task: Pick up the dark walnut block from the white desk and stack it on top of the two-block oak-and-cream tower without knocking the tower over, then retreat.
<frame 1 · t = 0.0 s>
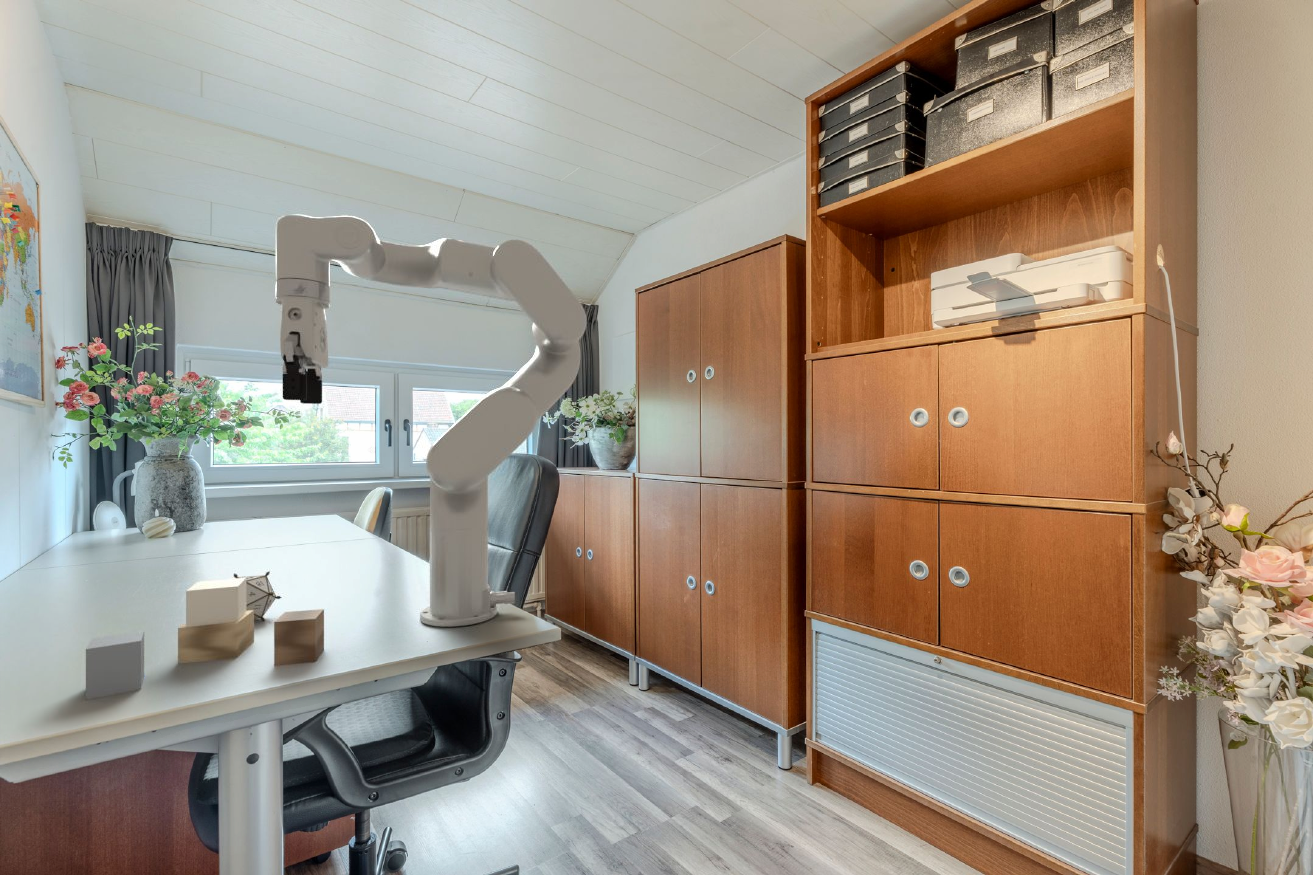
hand: (303, 401, 98), 37 cm above the table, tool pointing down, fingers open, 9 cm apart
tower top: (217, 618, 88), point 5 cm above the table, touching tower base
tower base: (217, 653, 88), on the table, touching tower top
game die: (249, 622, 103), on the table
walnut block: (300, 657, 86), on the table
slate block: (116, 687, 75), on the table
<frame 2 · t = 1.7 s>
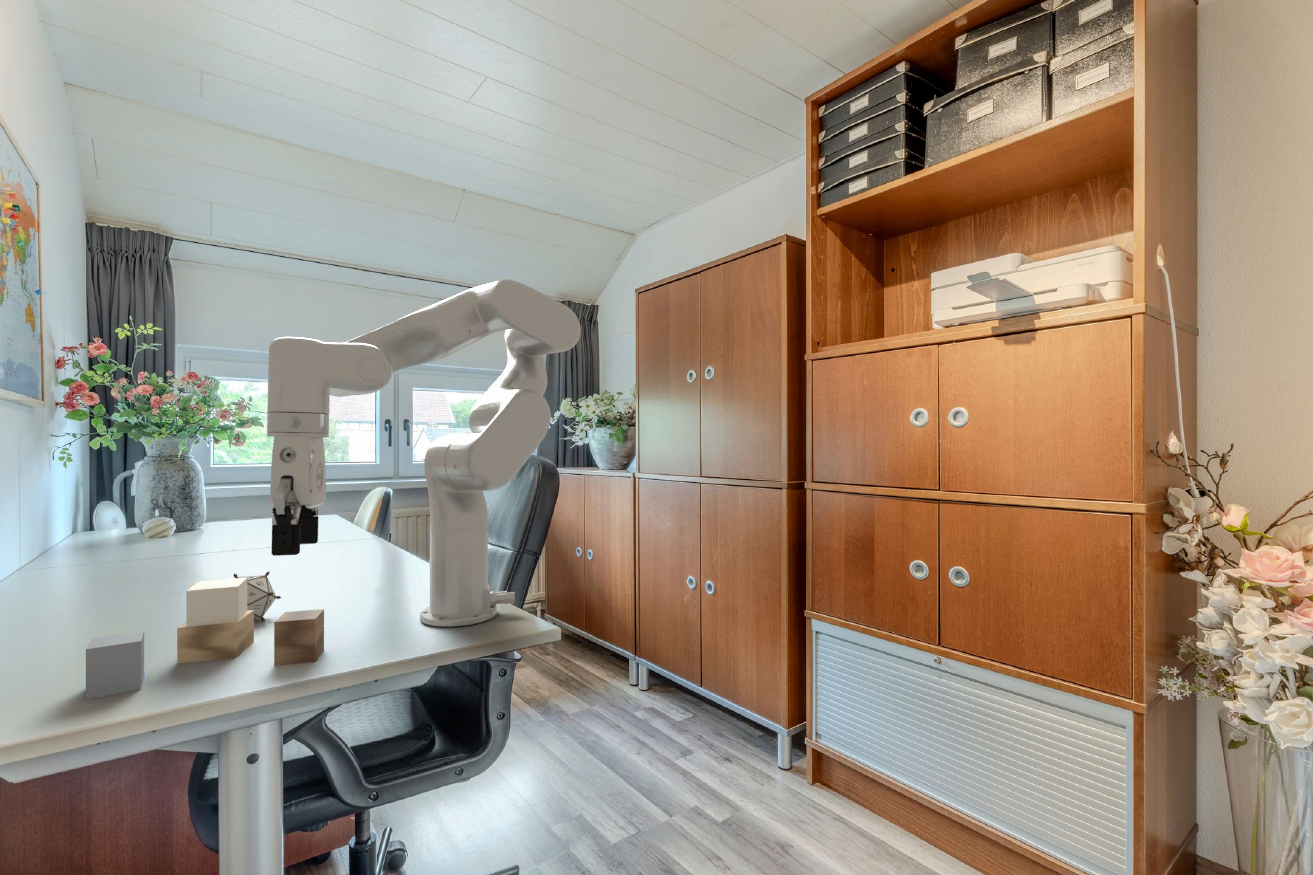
hand: (296, 548, 85), 15 cm above the table, tool pointing down, fingers open, 9 cm apart
nothing on the table moved.
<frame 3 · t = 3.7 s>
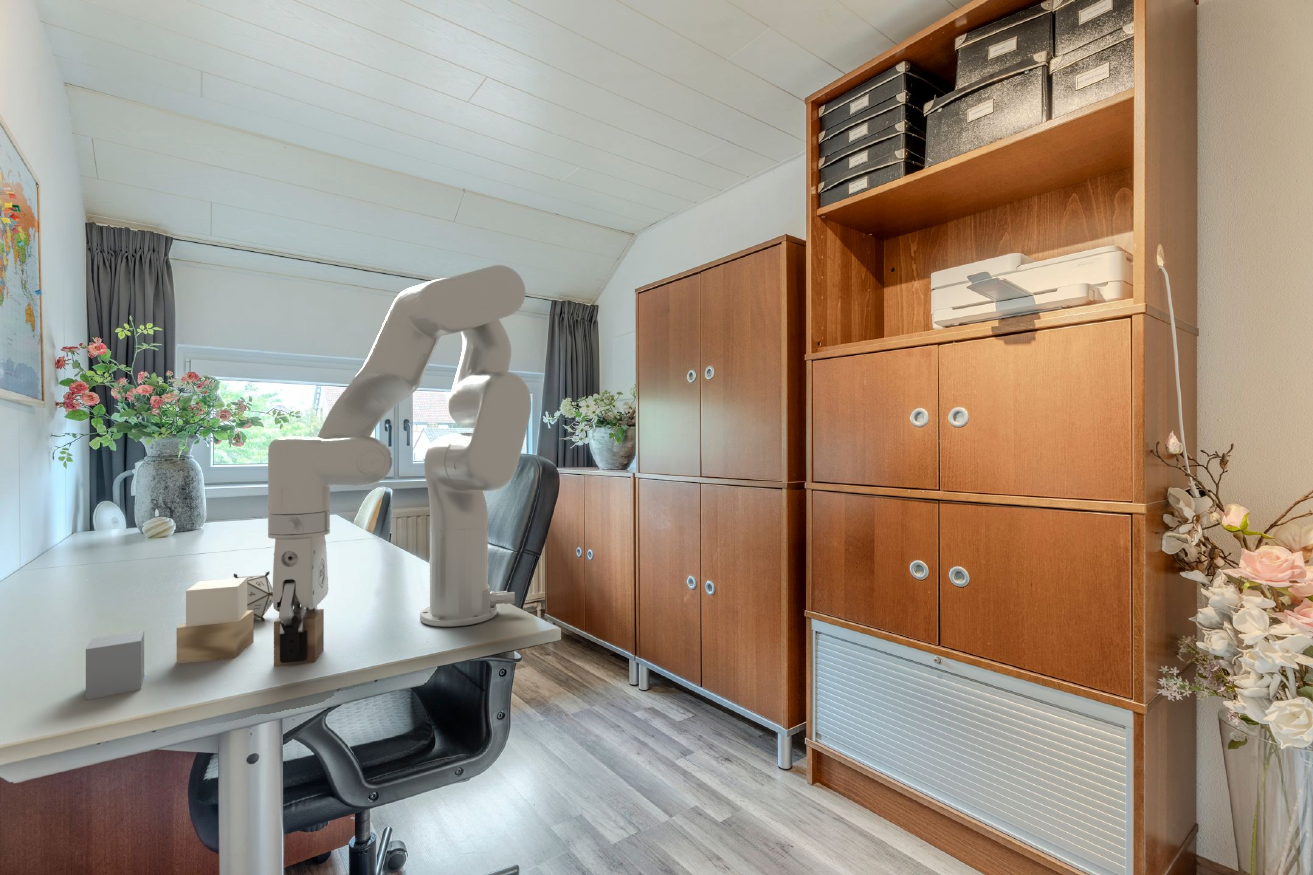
hand: (299, 652, 86), 1 cm above the table, tool pointing down, fingers closed on walnut block, 5 cm apart
walnut block: (299, 657, 86), on the table, touching gripper
everything else where it was.
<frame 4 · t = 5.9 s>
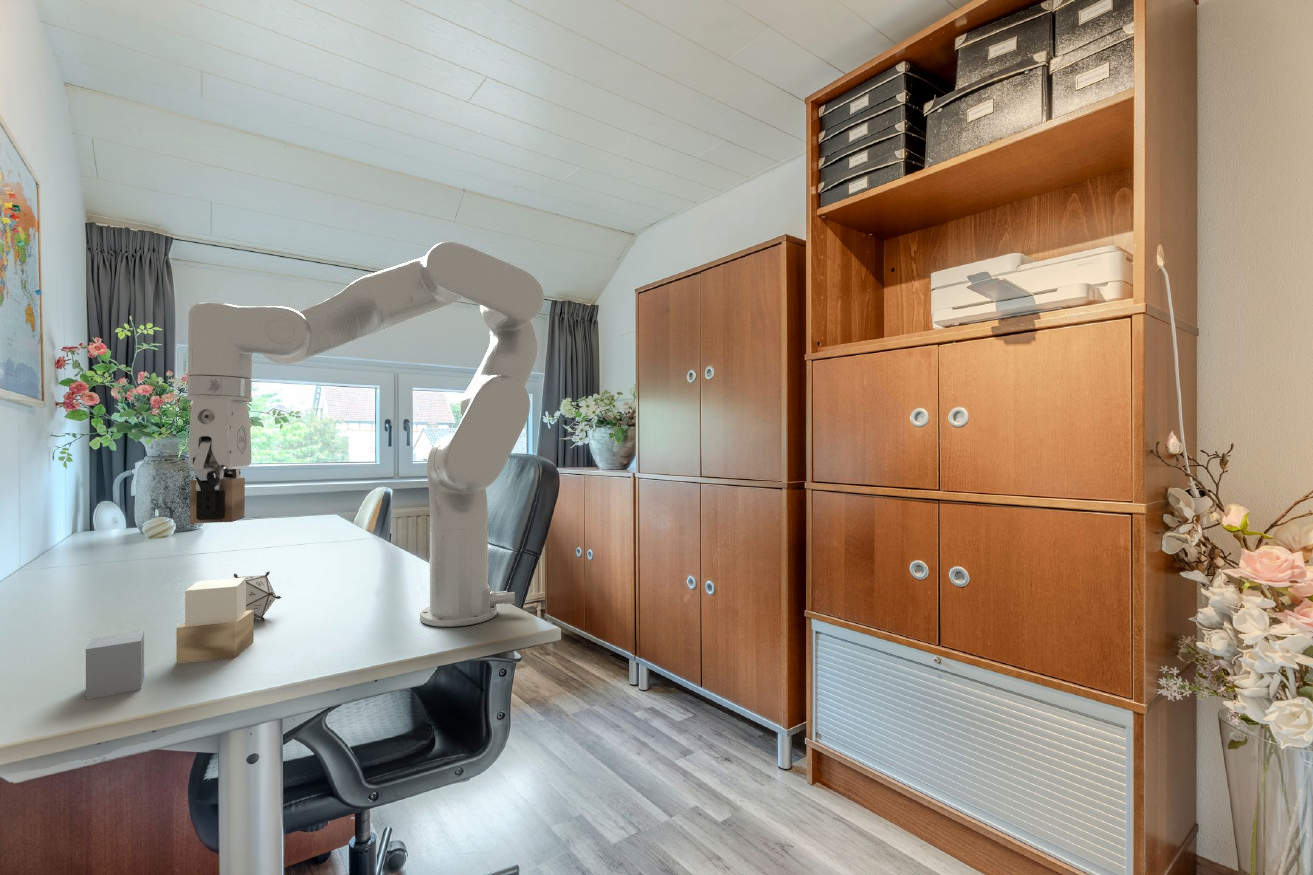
hand: (218, 515, 88), 20 cm above the table, tool pointing down, fingers closed on walnut block, 5 cm apart
walnut block: (218, 520, 88), point 19 cm above the table, touching gripper
everything else where it was.
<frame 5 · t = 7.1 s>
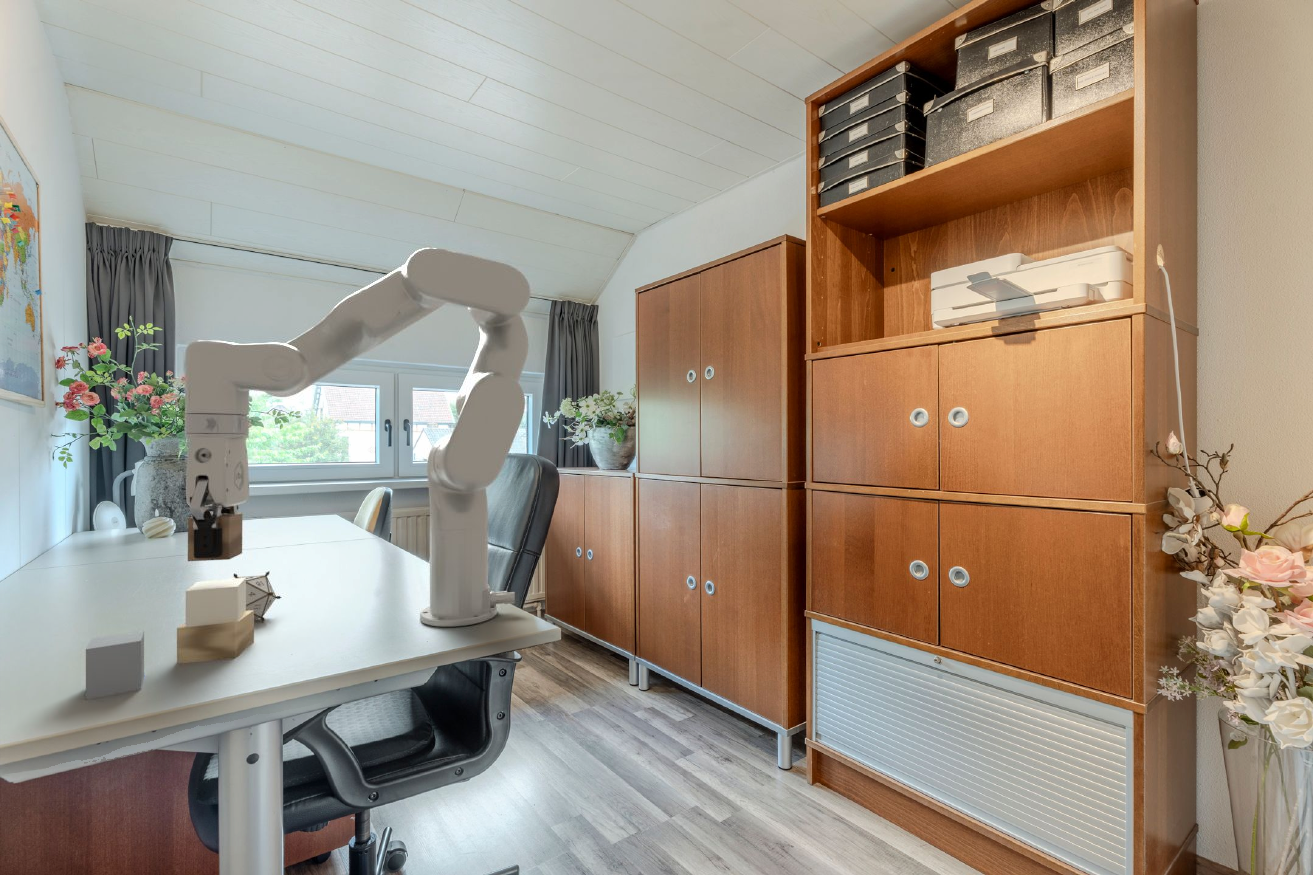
hand: (216, 552, 88), 14 cm above the table, tool pointing down, fingers closed on walnut block, 5 cm apart
walnut block: (215, 557, 88), point 14 cm above the table, touching gripper
everything else where it was.
when the fingers open (12 cm above the table, at t = 8.1 s): walnut block drops 1 cm, resting on tower top.
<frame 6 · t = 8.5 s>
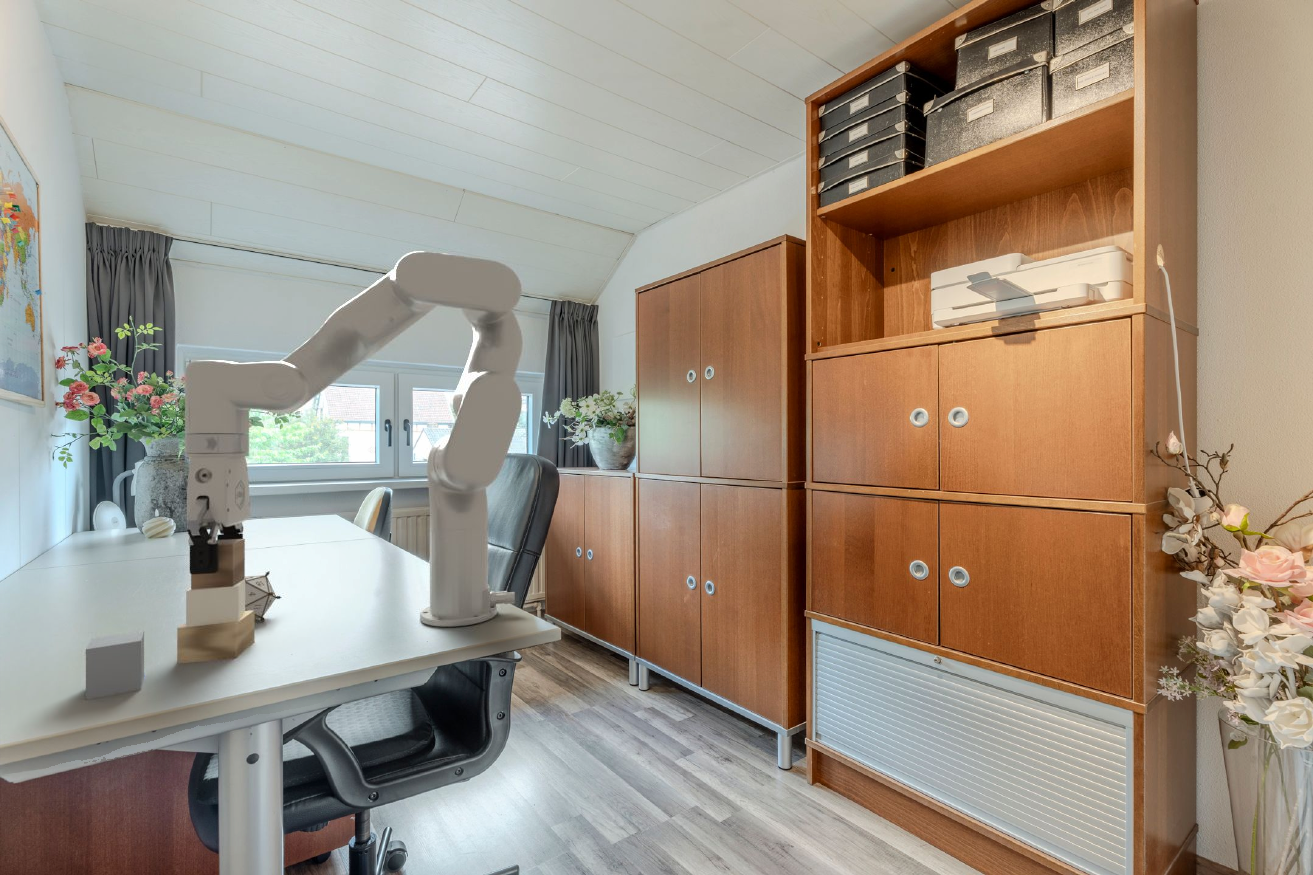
hand: (217, 566, 88), 12 cm above the table, tool pointing down, fingers open, 8 cm apart
tower top: (217, 618, 88), point 5 cm above the table, touching tower base, walnut block
walnut block: (218, 583, 88), point 10 cm above the table, touching tower top
everything else where it was.
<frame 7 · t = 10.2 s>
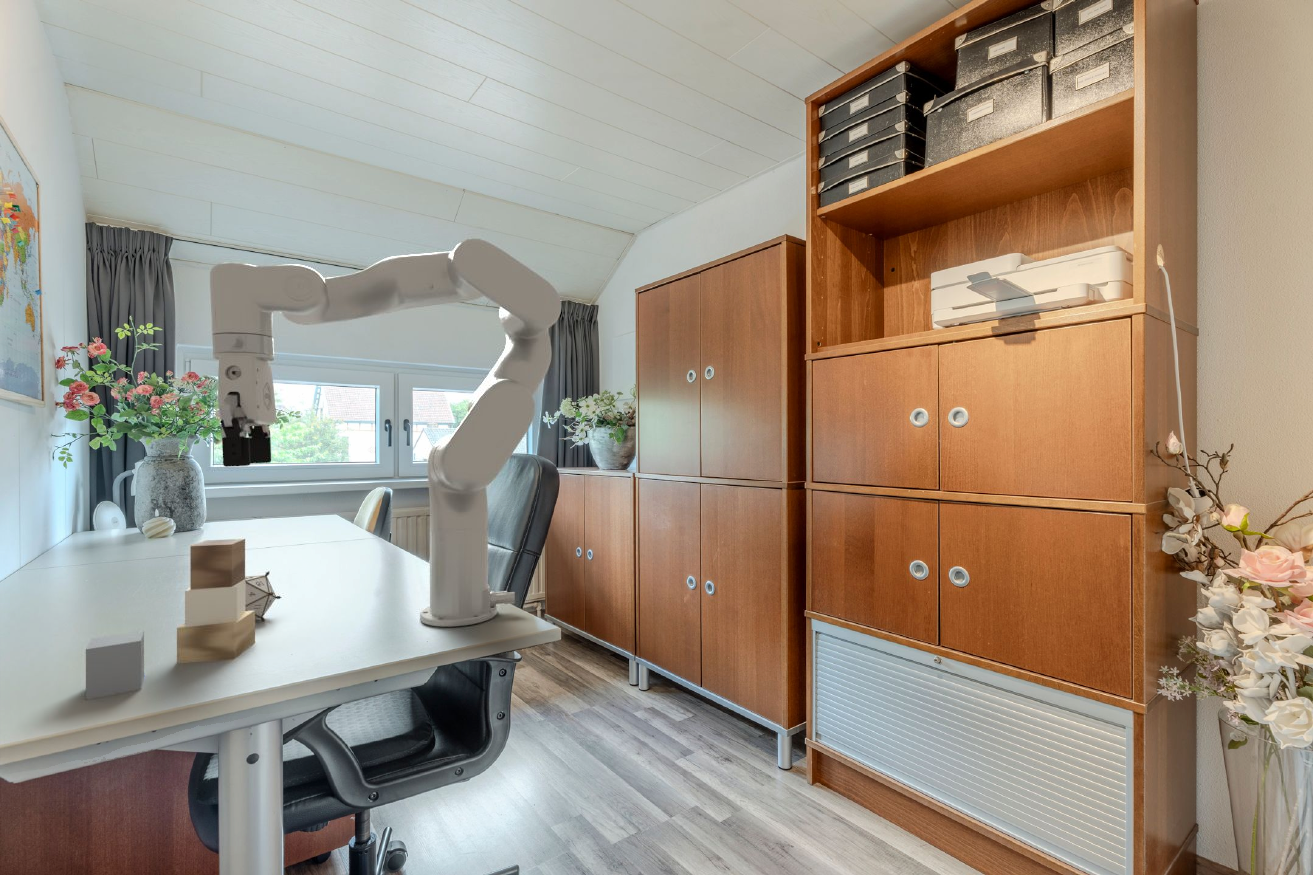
hand: (248, 464, 91), 27 cm above the table, tool pointing down, fingers open, 9 cm apart
nothing on the table moved.
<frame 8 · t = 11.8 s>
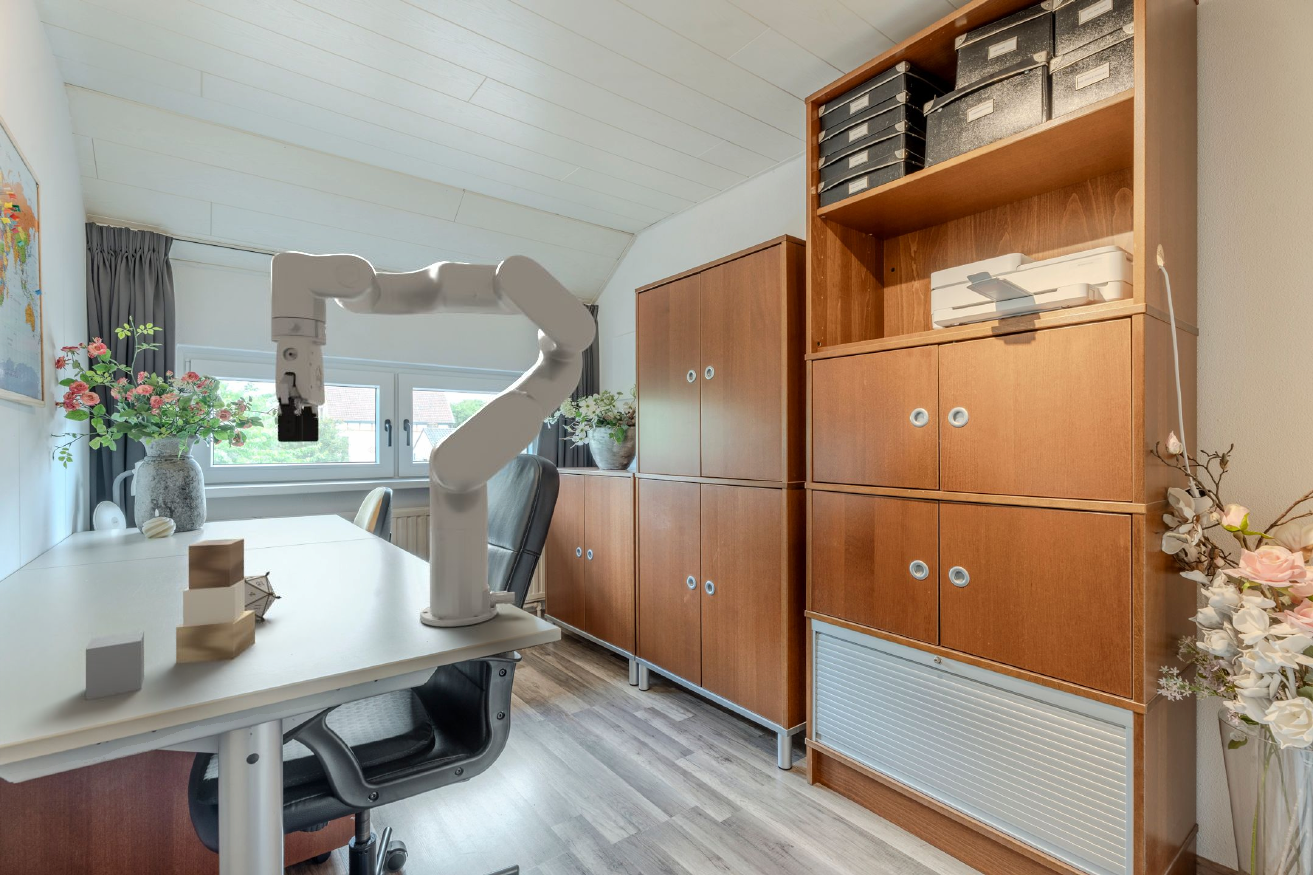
hand: (299, 441, 96), 30 cm above the table, tool pointing down, fingers open, 9 cm apart
nothing on the table moved.
at the end: walnut block 0.3 cm off-centre on the tower top, point 5.0 cm above the tower top's base; walnut block tilted 0°; tower top tilted 0° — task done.
